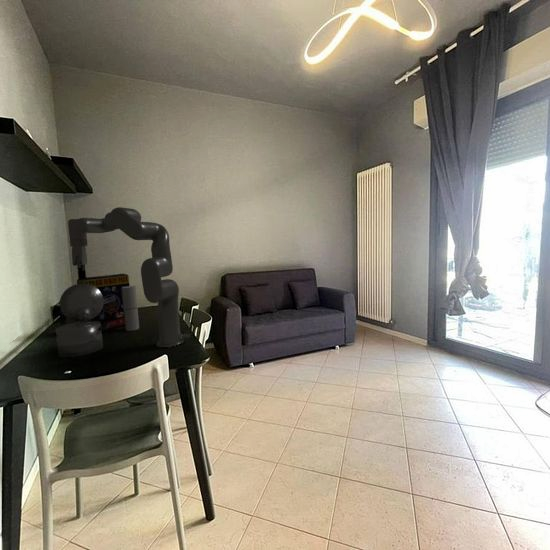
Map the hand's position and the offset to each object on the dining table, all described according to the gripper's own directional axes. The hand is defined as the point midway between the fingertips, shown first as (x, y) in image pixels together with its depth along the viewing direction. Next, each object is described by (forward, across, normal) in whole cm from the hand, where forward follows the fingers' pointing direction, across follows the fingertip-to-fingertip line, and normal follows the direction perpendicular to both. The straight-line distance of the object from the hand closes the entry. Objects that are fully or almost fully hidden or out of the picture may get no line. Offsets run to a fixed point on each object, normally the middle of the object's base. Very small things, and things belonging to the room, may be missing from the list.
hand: (82, 278), depth 160 cm
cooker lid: (+11, +8, +1) cm, 14 cm away
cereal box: (+33, -22, +7) cm, 40 cm away
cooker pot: (+32, +20, +1) cm, 38 cm away
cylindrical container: (+33, -10, +21) cm, 40 cm away
